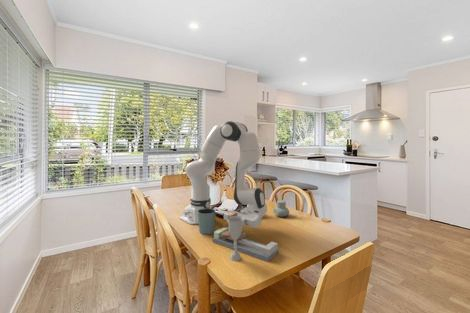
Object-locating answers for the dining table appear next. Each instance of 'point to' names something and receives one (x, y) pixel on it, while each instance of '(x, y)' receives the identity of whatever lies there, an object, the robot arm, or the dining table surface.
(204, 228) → the teal cup
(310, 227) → the dining table surface
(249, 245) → the rail board
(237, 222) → the chalice
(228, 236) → the carriage
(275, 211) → the grey rounded piece
